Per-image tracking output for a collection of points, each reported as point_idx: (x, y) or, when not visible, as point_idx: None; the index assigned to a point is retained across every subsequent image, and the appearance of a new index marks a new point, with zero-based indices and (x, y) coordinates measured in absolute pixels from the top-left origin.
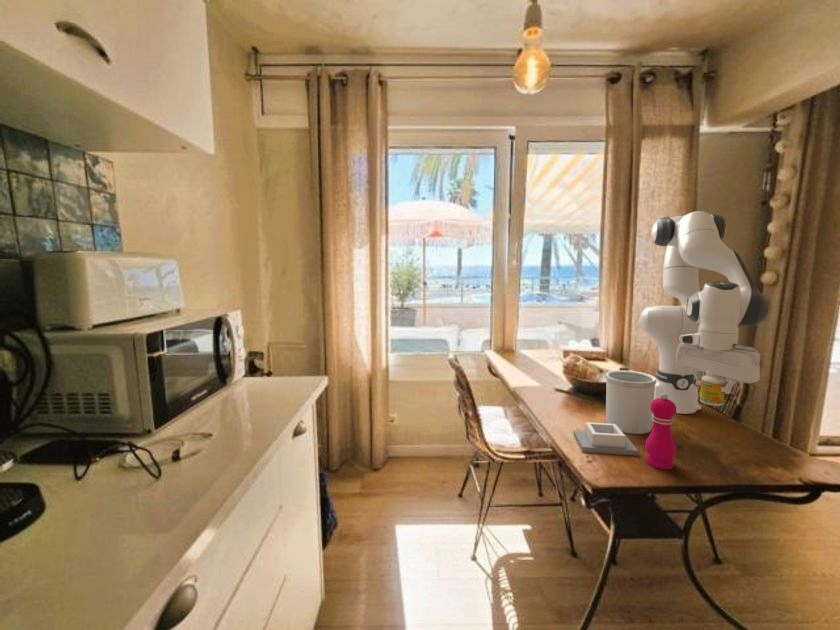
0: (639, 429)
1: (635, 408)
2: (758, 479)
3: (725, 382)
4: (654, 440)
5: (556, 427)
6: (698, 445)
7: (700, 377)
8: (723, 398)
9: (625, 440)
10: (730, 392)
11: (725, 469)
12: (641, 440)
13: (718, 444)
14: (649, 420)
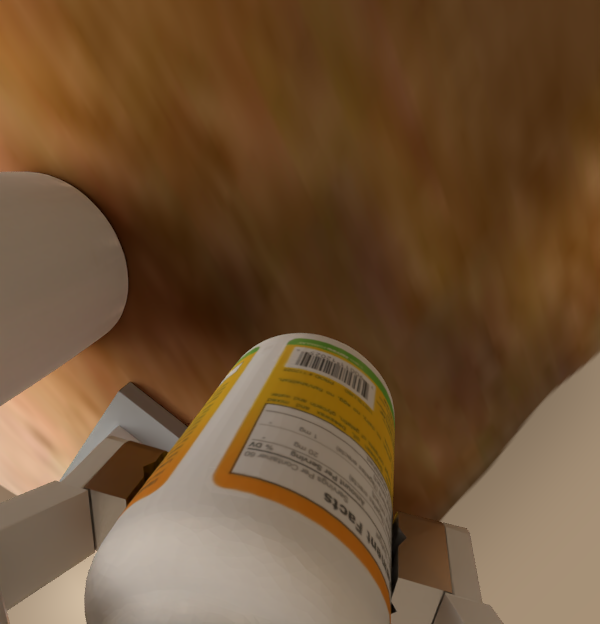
0: (113, 316)
1: (32, 378)
2: (573, 334)
3: (384, 604)
4: None
5: (10, 469)
6: (292, 205)
7: (61, 525)
8: (393, 448)
9: (166, 442)
10: (467, 533)
11: (458, 348)
12: (168, 352)
13: (332, 100)
14: (91, 281)
